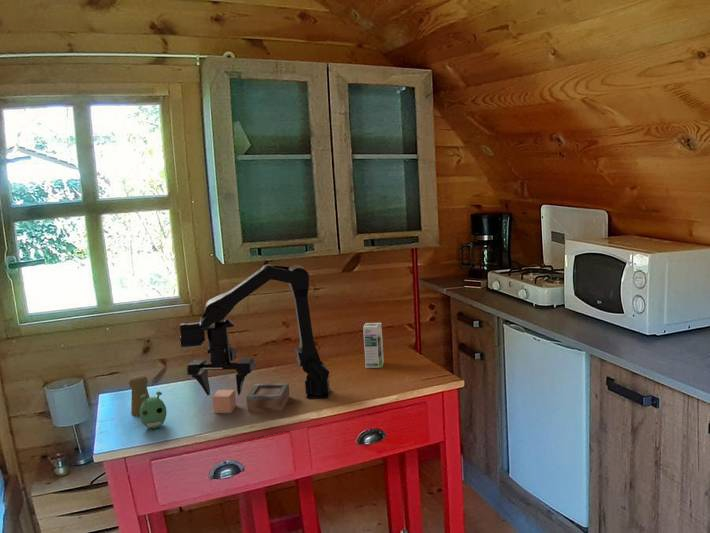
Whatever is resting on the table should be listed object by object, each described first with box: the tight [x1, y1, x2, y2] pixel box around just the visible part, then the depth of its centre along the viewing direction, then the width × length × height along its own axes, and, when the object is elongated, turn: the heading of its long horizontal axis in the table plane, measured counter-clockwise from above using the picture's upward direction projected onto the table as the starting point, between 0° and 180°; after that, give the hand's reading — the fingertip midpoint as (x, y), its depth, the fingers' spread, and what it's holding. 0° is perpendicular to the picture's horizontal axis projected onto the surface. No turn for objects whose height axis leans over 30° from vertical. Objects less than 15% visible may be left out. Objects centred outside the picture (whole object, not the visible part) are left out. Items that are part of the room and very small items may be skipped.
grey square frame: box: [246, 382, 291, 412], centre depth 175 cm, size 10×10×5 cm
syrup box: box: [362, 322, 385, 369], centre depth 202 cm, size 6×6×14 cm
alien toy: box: [139, 391, 168, 429], centre depth 163 cm, size 7×8×10 cm
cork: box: [128, 374, 151, 417], centre depth 175 cm, size 6×6×11 cm
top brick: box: [212, 389, 237, 414], centre depth 174 cm, size 5×5×5 cm
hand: (224, 394), depth 173 cm, fingers open, 9 cm apart
